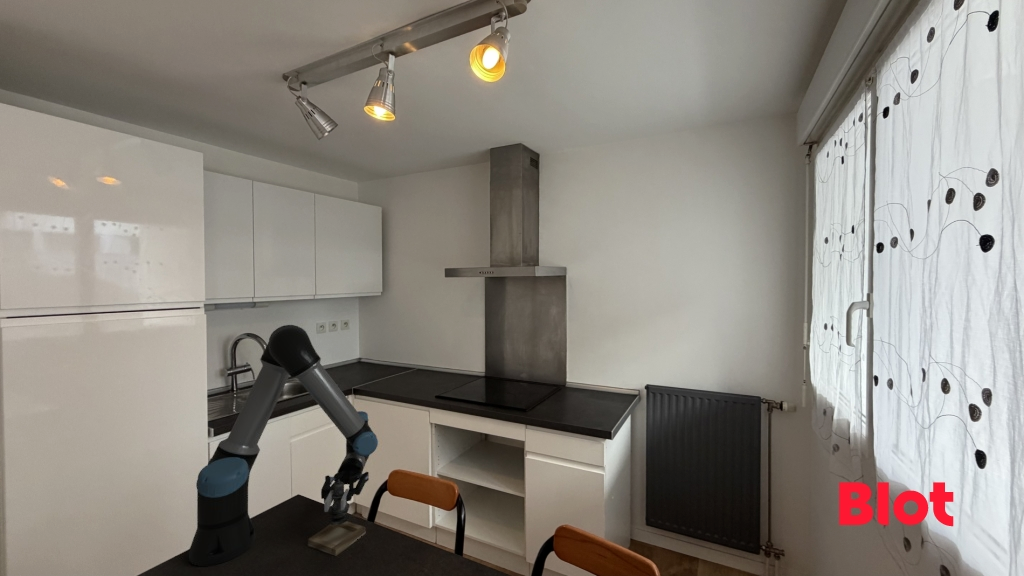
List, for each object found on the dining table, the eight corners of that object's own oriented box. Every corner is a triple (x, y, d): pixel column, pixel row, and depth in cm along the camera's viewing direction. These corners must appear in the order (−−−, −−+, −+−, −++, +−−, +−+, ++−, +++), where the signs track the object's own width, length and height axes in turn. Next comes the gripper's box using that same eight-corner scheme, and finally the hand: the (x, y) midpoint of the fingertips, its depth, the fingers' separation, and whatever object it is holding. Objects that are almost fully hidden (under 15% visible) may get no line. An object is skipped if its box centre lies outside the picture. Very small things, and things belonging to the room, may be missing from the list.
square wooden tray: (307, 545, 112) (307, 539, 112) (338, 524, 122) (338, 518, 122) (335, 556, 107) (335, 549, 107) (365, 533, 118) (365, 527, 118)
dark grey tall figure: (341, 526, 112) (341, 485, 112) (323, 524, 113) (323, 483, 113) (354, 515, 117) (353, 475, 117) (336, 512, 118) (336, 473, 118)
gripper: (377, 476, 134) (365, 515, 111) (325, 481, 131) (302, 523, 108) (377, 455, 134) (365, 489, 111) (325, 459, 131) (301, 496, 108)
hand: (334, 506), depth 110 cm, fingers closed on dark grey tall figure, 4 cm apart
